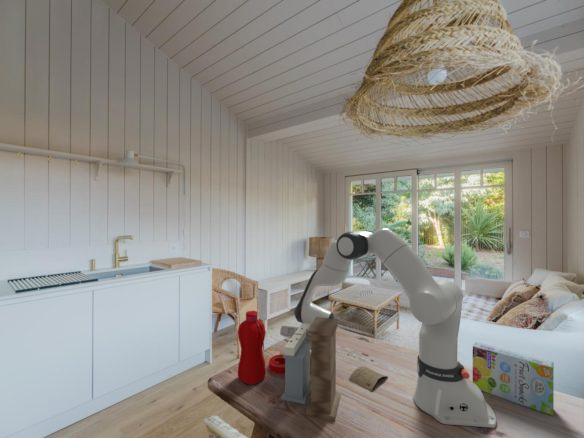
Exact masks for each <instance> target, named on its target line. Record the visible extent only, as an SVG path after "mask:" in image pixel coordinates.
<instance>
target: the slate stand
mask: <svg viewBox="0 0 584 438" xmlns="http://www.w3.org/2000/svg"><path fill="white" fill-rule="evenodd" d="M310 348H311V342H307V341H303V342H302V343H301V345H300V347H299V348H298V350H297V351H296V353H295V355H294V356H290V355H285V352H283V354H282V355H283V358H285V373H284V374H285V376H284V377H285V381H284V383H285V385H284V386H285V387H284V388H285V390H284V391H283V393H282V394H281V400H282V401H287V402H293V403H298V404H301V405H306V402H307V401H308V397H309V394H311V393H310V392H311V350H310Z"/></svg>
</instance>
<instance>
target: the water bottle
mask: <svg viewBox="0 0 584 438" xmlns="http://www.w3.org/2000/svg"><path fill="white" fill-rule="evenodd" d="M258 315H259V314H258V311H256V310H249V311H246V312H245V320H244V321H242V322H241V323H240V324H239V326H238V329H237V336H238V337H237V338H238V341H239V346H240V357H239V360H238V361H239V362H238V366H237V377H238V380H240V381H241V382H243V383H244V384H247V385H249V386H251V385H253V386H254V385H256V384H257V383H259V382H261V381H262V380H264V378H265V377H266V375H267V370H266V368H267V367H266V362H265V358H264V357H265V356H264V352H263V351H265V344H264V343H265V338H266V327H265V324H264V322H263V321H261V320H260V319H258Z"/></svg>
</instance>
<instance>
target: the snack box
mask: <svg viewBox="0 0 584 438" xmlns="http://www.w3.org/2000/svg"><path fill="white" fill-rule="evenodd" d="M554 369H555V367H554V361H552V360H549V359H548V360H547V359H544V358H541V357H540V358H539V357H537V356H531V355H528V354H525V353H524V354H523V353H522V352H521V353H520V352H517V351H512V350H510V349H506V348H501V347H497V346H492V345H488V344H485V343H482V342H478V341H475V342H474V344H473V345H472V382H473V383H474V384H476V385H477V386H478V388H479V389H480V390H481V392H484V393H487V394H490V395H493V396H495V397H498V398H501V399H504V400H507V401H509V402H512V403H515V404H517V405H521V406H524V407H527V408H529V409H532V410H535V411H537V412H540V413H542V414H546V415H549V416H552V417H554V407H555V406H554V405H555V404H554V395H555V393H554V388H555V387H554V385H555V383H554V375H555V372H554Z"/></svg>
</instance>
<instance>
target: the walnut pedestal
mask: <svg viewBox="0 0 584 438" xmlns="http://www.w3.org/2000/svg"><path fill="white" fill-rule="evenodd" d="M339 323H340V319H337V318H335V319H330V318H321V317H316V318H315V319H314V321H313V322H312V324H311V325H310V327H309V329H308V330H307V334H311V350H310V380H311V390H310V392H311V393H310V394H311V396H310V399H309V401H308V404H307V406H306V409H305V416H310V417H315V418H319V419H325V420H328V421H332V422H333V421H334V422H336V418H337V415H338V409H339V405H340V401H341V395H342V394H341V392H340V391H339V392H338V391H337V390H336V389H337V387H336V386H337V385H336V384H337V379H336V378H337V377H336V374H337V371H336V370H337V367H336V365H337V361H336V355H337V354H336V353H337V352H336V350H337V349H336V347H337V346H336V345H337V338H336V337H337V336H336V335H337V334H336V332H337V328H338V326H339Z"/></svg>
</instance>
